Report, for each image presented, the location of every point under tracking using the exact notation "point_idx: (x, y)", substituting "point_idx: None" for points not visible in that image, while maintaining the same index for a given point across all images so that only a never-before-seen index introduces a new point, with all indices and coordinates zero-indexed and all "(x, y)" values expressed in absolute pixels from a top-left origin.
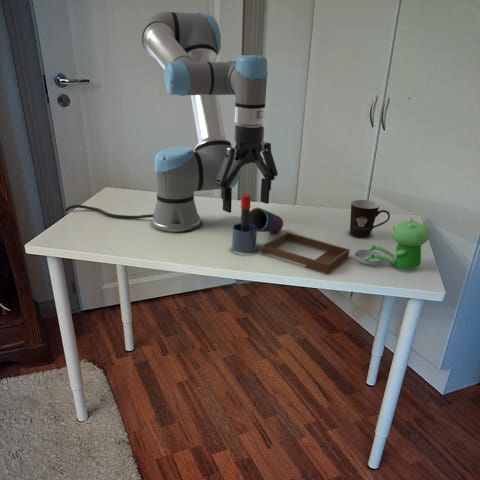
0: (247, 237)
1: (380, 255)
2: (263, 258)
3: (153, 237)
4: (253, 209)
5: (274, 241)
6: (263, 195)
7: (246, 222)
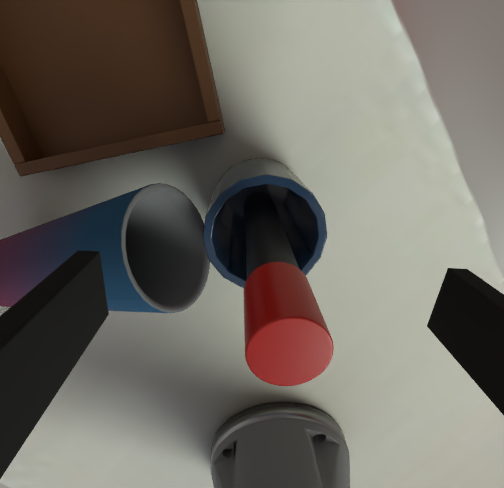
0: (294, 178)
1: None
2: (253, 95)
3: (389, 416)
4: (160, 306)
5: (145, 136)
6: (78, 322)
7: (278, 231)
